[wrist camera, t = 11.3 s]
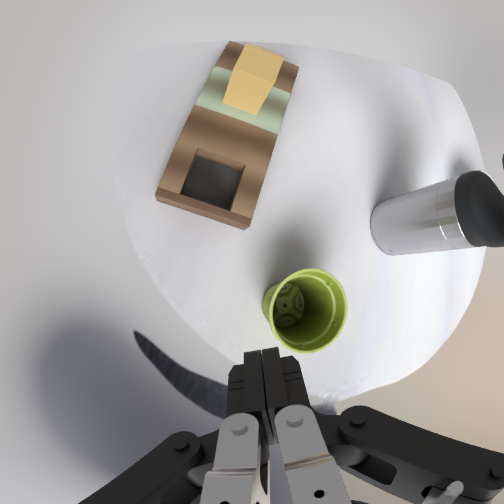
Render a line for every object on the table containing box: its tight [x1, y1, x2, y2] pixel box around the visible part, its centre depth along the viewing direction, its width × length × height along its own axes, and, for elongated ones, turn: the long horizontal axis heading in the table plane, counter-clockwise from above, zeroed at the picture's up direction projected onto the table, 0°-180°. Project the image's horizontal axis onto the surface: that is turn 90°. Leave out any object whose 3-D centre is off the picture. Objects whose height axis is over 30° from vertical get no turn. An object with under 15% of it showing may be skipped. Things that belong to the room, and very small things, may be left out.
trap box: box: [155, 41, 299, 230], centre depth 37 cm, size 28×12×3 cm, turn 164°
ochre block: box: [222, 43, 284, 115], centre depth 32 cm, size 5×5×8 cm
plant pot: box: [262, 268, 347, 354], centre depth 35 cm, size 9×9×9 cm
